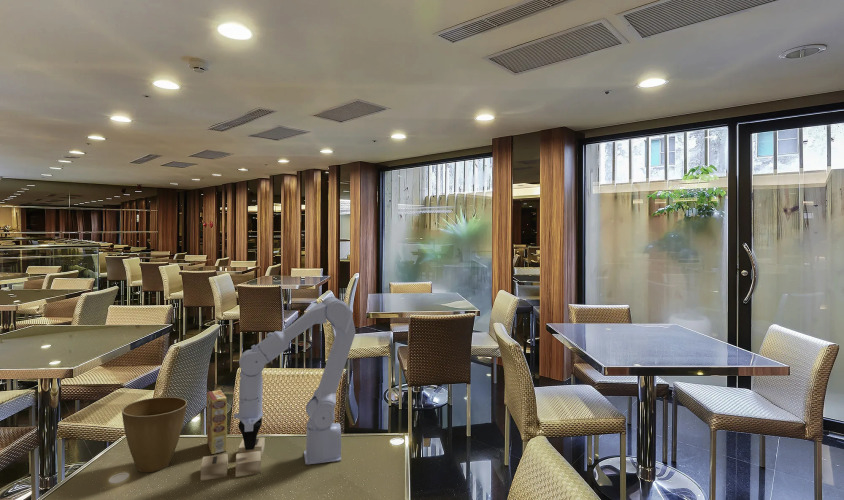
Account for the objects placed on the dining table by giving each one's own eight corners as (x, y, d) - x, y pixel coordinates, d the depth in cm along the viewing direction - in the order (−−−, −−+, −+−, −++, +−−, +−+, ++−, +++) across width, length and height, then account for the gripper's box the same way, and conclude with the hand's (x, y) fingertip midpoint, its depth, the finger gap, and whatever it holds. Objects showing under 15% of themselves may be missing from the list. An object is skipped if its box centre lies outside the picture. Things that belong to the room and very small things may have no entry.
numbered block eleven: (264, 449, 134) (264, 437, 134) (261, 459, 129) (261, 445, 128) (242, 450, 133) (242, 438, 133) (238, 460, 127) (238, 447, 127)
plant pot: (114, 484, 113) (115, 418, 113) (127, 458, 127) (128, 399, 127) (183, 474, 119) (184, 411, 119) (188, 450, 133) (189, 394, 132)
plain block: (260, 463, 126) (260, 450, 126) (260, 474, 120) (260, 460, 120) (236, 467, 124) (236, 453, 124) (235, 477, 118) (235, 463, 118)
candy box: (227, 451, 132) (228, 397, 132) (211, 455, 130) (211, 400, 130) (221, 440, 140) (221, 389, 139) (205, 443, 137) (206, 391, 137)
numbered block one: (227, 466, 124) (228, 453, 124) (226, 477, 118) (227, 463, 118) (202, 470, 122) (203, 456, 122) (200, 481, 116) (200, 466, 116)
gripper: (236, 389, 128) (236, 439, 128) (231, 407, 114) (230, 462, 114) (264, 387, 130) (263, 436, 130) (262, 405, 116) (261, 459, 116)
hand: (249, 448), depth 122 cm, fingers closed
